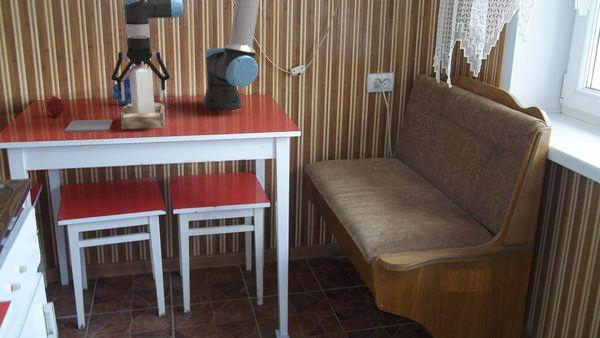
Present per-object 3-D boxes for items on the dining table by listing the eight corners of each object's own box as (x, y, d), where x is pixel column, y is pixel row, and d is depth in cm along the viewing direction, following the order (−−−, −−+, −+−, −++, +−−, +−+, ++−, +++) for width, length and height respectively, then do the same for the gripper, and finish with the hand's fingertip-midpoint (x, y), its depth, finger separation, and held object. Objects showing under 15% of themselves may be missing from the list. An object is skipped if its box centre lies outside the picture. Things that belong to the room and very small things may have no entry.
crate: (165, 116, 225) (164, 102, 223) (163, 130, 204) (162, 116, 203) (126, 117, 223) (125, 103, 221) (120, 131, 202) (119, 117, 200)
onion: (68, 116, 222) (65, 95, 220) (52, 119, 218) (50, 97, 216) (60, 114, 226) (58, 92, 223) (45, 116, 222) (42, 94, 219)
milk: (139, 126, 210) (134, 62, 203) (132, 123, 214) (127, 60, 207) (155, 124, 213) (151, 61, 206) (148, 120, 218) (144, 58, 211)
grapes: (144, 103, 247) (142, 73, 243) (142, 106, 241) (140, 76, 237) (115, 103, 245) (112, 73, 242) (112, 106, 239) (109, 76, 235)
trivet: (113, 121, 216) (113, 119, 216) (108, 130, 203) (108, 129, 203) (72, 122, 214) (71, 120, 214) (64, 132, 201) (64, 130, 201)
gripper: (175, 35, 210) (178, 97, 217) (102, 35, 206) (107, 98, 212) (174, 37, 203) (177, 101, 210) (99, 38, 199) (104, 103, 205)
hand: (142, 100), depth 211 cm, fingers open, 12 cm apart
